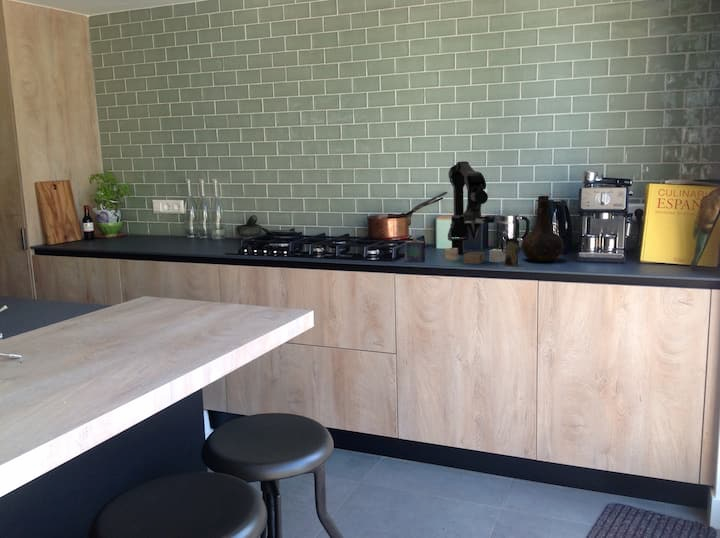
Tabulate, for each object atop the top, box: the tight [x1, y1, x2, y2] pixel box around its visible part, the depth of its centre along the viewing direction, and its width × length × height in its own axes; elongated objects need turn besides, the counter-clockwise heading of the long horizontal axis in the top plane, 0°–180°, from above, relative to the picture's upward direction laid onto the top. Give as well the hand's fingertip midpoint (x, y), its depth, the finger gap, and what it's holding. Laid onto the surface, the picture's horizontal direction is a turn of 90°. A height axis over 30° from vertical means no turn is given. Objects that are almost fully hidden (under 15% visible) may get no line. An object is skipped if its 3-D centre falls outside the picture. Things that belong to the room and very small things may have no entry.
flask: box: [404, 237, 426, 263], centre depth 296 cm, size 9×3×11 cm, turn 65°
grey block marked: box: [488, 248, 506, 264], centre depth 292 cm, size 5×5×5 cm
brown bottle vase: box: [521, 195, 565, 263], centre depth 288 cm, size 18×18×28 cm
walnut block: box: [463, 251, 485, 265], centre depth 291 cm, size 7×7×4 cm
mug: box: [500, 235, 519, 267], centre depth 281 cm, size 8×6×12 cm
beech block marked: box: [444, 247, 459, 262], centre depth 299 cm, size 5×5×5 cm
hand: (474, 238), depth 290 cm, fingers closed
